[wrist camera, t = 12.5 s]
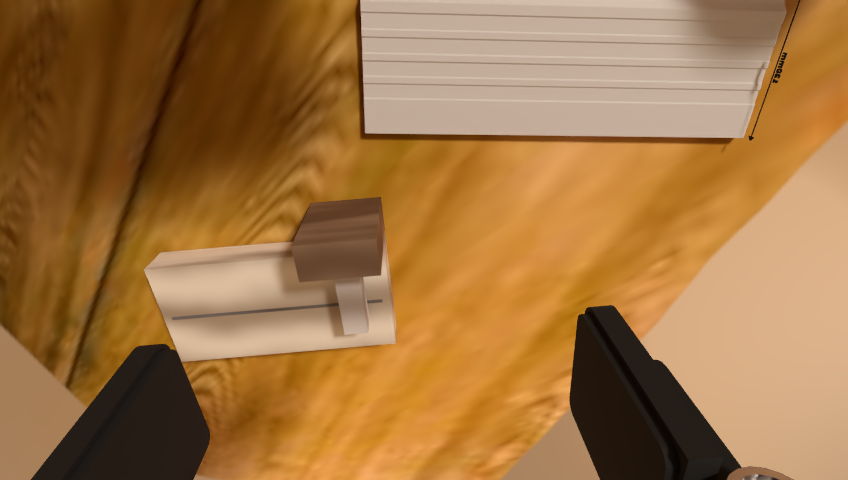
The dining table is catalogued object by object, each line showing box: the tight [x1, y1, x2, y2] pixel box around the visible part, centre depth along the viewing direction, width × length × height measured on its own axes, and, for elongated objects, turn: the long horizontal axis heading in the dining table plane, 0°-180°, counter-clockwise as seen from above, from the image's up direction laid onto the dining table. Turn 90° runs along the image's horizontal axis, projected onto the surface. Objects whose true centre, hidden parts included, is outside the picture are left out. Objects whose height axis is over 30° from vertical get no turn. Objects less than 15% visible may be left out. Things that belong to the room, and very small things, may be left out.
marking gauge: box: [291, 197, 385, 335], centre depth 38 cm, size 10×6×8 cm, turn 4°
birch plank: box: [144, 234, 396, 362], centre depth 41 cm, size 10×20×3 cm, turn 94°
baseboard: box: [360, 0, 800, 140], centre depth 34 cm, size 31×3×12 cm
